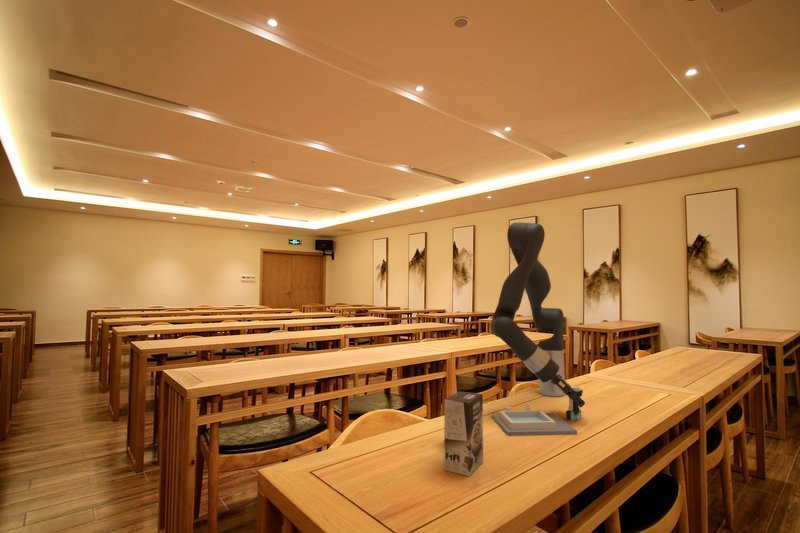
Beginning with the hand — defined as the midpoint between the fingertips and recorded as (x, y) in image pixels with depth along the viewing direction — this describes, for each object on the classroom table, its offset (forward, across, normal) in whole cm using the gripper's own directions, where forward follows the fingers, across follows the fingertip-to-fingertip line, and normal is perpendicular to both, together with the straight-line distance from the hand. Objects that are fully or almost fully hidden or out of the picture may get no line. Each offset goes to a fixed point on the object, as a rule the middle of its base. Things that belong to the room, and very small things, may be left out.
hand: (578, 401), depth 126 cm
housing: (-7, -8, +15) cm, 18 cm away
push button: (+3, 0, +5) cm, 6 cm away
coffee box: (-22, -38, +30) cm, 53 cm away
